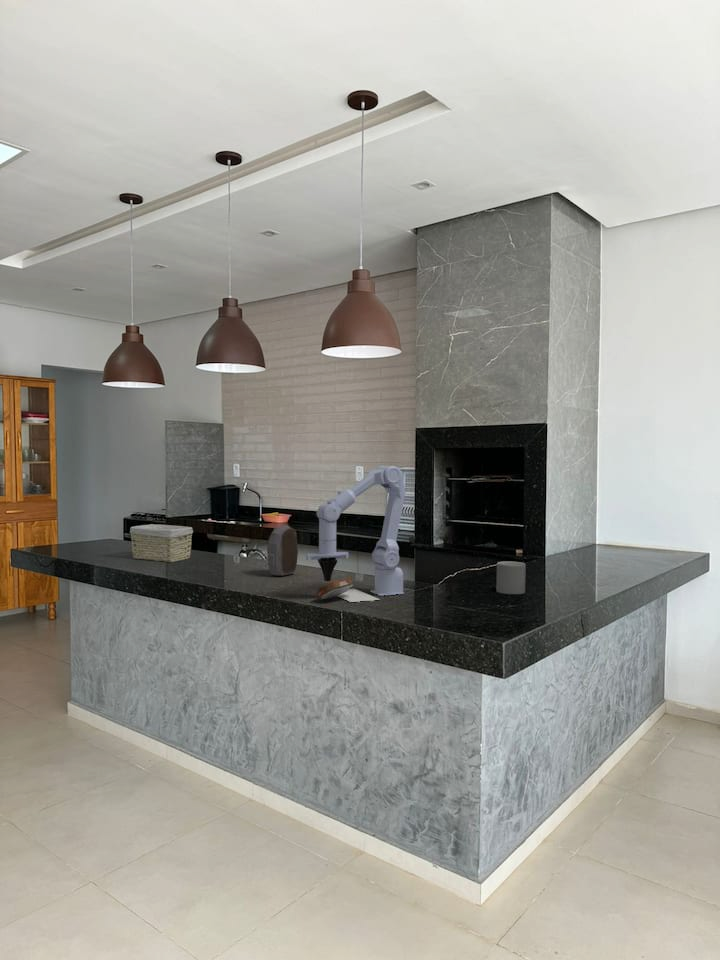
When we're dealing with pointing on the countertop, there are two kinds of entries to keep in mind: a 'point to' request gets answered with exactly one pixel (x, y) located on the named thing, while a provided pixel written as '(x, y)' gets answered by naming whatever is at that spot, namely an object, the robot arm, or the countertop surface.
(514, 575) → the coffee mug
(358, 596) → the grey mat
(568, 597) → the countertop surface
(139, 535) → the storage basket
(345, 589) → the tin
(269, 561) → the soft grey pack
